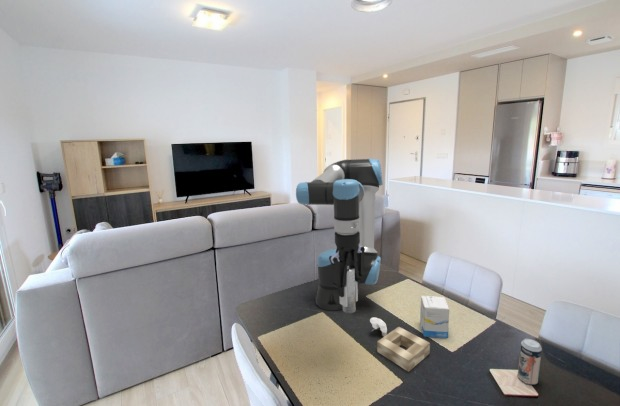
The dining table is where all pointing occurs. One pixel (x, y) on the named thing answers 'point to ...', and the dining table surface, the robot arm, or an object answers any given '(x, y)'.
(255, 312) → the dining table surface
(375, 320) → the white coral lump
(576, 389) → the dining table surface
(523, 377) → the beer can
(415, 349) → the socket block
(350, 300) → the peg
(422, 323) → the ink box
